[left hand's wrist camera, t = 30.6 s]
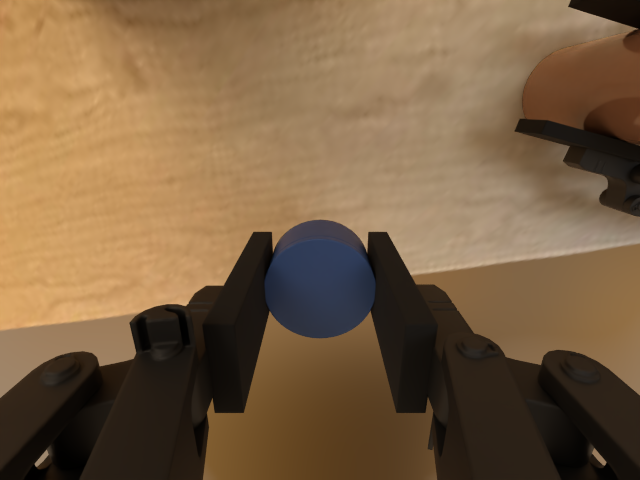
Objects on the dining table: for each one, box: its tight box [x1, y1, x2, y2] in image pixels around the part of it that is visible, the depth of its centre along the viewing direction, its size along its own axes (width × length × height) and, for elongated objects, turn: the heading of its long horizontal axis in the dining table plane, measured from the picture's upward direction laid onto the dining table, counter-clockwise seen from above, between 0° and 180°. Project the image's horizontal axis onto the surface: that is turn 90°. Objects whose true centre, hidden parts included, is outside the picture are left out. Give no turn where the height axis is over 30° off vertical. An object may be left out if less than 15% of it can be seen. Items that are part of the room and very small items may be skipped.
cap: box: [265, 220, 376, 338], centre depth 13 cm, size 4×4×2 cm
